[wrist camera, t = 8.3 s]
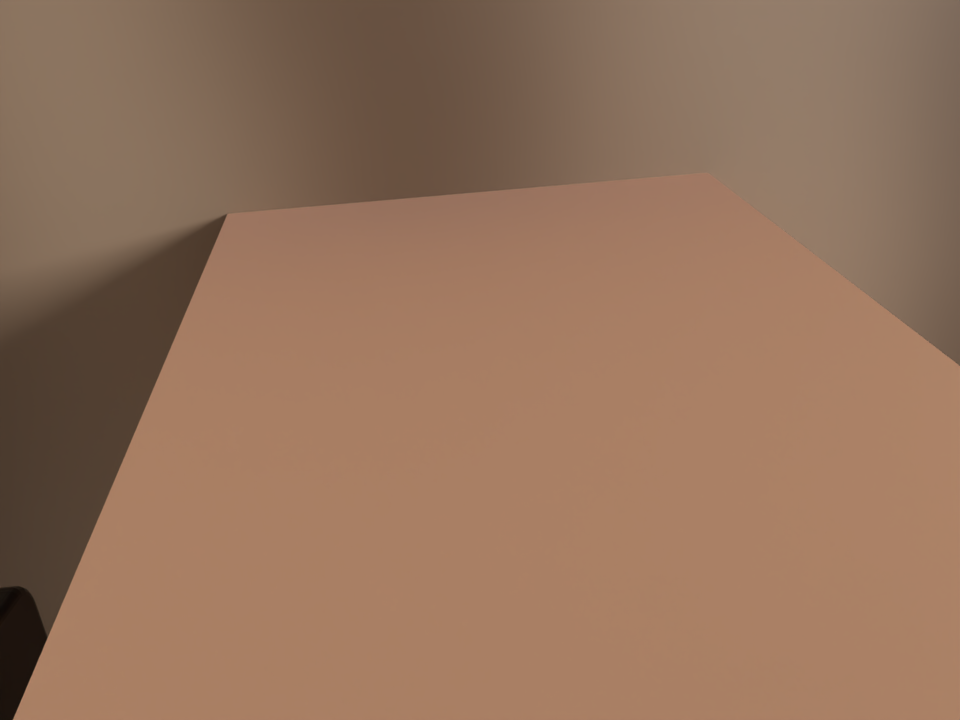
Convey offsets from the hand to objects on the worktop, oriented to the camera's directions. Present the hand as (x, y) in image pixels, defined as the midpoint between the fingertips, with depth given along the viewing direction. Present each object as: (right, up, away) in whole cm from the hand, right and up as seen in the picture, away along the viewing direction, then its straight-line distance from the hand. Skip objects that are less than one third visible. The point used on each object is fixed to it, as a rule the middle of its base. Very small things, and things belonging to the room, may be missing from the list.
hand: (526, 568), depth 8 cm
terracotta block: (0, +1, +3) cm, 3 cm away
